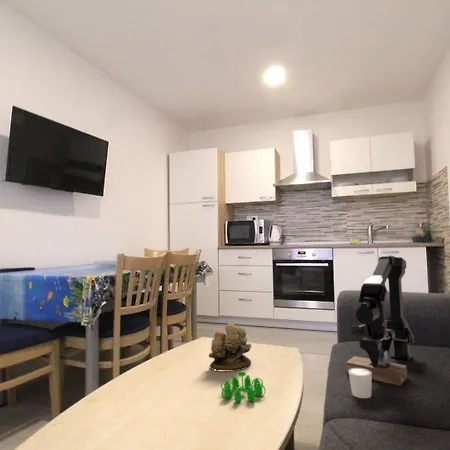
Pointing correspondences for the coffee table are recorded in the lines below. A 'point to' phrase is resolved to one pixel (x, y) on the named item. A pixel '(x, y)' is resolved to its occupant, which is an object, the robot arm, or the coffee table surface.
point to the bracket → (383, 359)
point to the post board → (380, 370)
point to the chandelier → (242, 388)
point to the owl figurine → (230, 349)
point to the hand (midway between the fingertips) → (379, 363)
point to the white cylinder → (361, 382)
